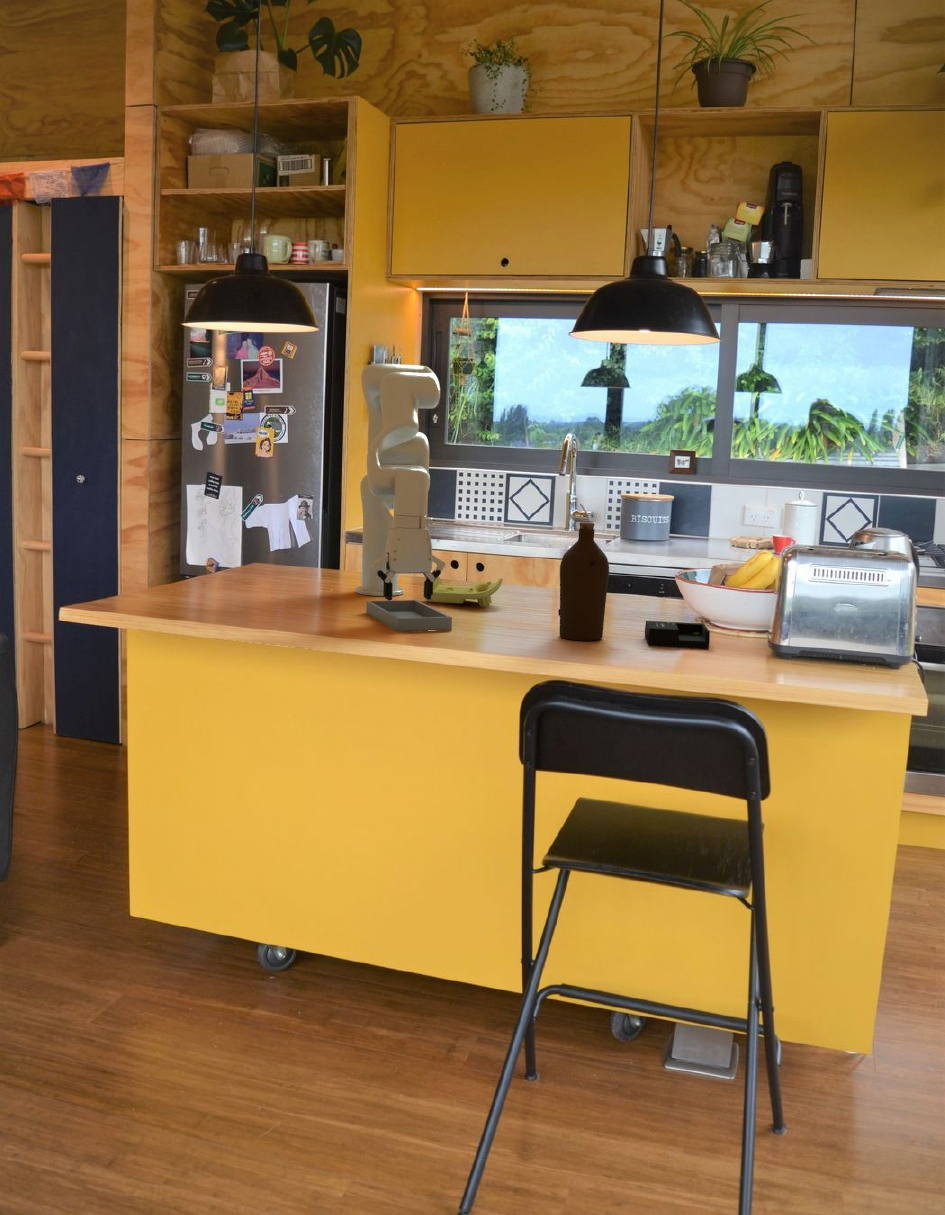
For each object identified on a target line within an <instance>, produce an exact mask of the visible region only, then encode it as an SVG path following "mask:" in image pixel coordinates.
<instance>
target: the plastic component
mask: <svg viewBox="0 0 945 1215" xmlns="http://www.w3.org/2000/svg"><path fill="white" fill-rule="evenodd" d="M503 580H504V579H503V578H502V577H500V578H498V580H497V581H496V582H492V581H484V582H483V581H482V582H478V583H475V584H473V585H472V586H461V585H458V586H457V585H443V583H442V579H441V578H440V575H439V576H438V577H437V578H436V579H435V581H434V582H433V595H431V600H428V599H426V598H425V600H426V601H427V602H431V603H444V604H445V603H446V604H464V603H465V601H466V600H472V601H473V600H477V603H478V606H479V607H486V606H490V605H491V604H492V602H493V601H492V597H491V596H493V595H494V594H495V593H496V592H497V591H498V590H499V589H500V588H501V586H502V584H503ZM422 591H423V592H424V587H422Z"/></svg>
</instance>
